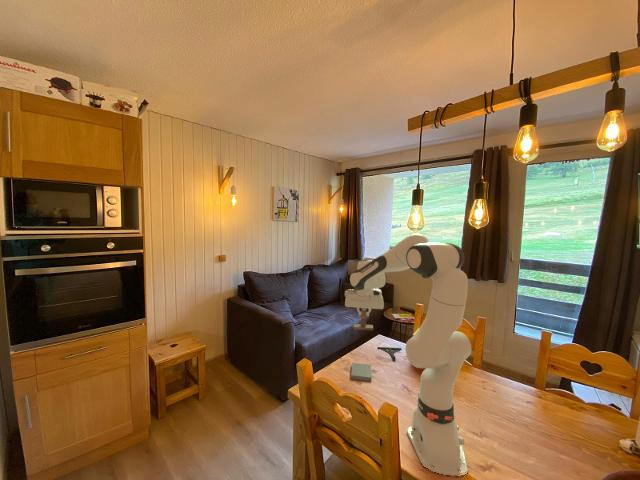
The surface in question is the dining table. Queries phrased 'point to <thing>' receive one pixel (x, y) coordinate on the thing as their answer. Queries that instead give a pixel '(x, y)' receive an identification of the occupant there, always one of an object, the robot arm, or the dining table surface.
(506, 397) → the dining table surface
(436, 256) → the robot arm
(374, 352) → the dining table surface
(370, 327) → the inverted t stand
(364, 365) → the tile
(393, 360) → the bracket
